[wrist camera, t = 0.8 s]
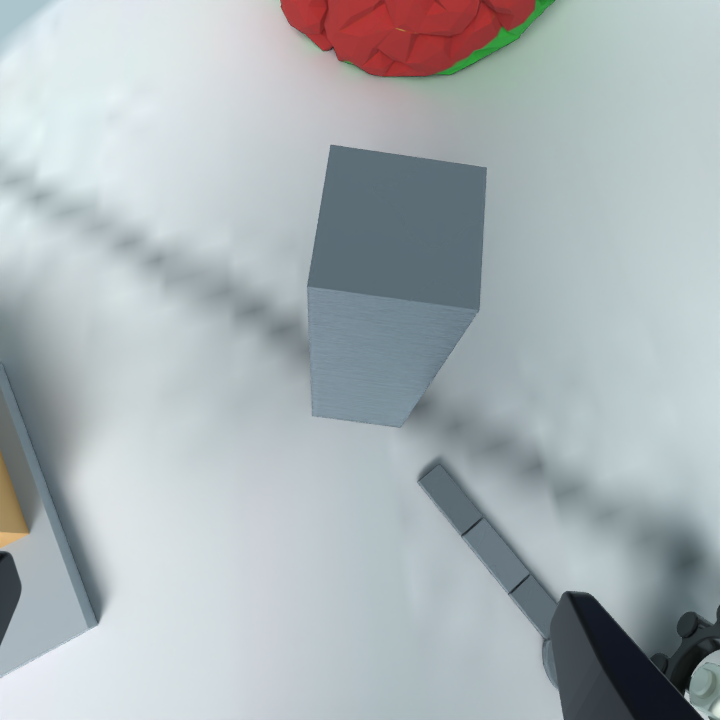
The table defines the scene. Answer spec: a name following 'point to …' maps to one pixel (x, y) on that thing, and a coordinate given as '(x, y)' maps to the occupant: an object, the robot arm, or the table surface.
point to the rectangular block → (390, 280)
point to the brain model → (412, 31)
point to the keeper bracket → (34, 550)
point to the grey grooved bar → (494, 557)
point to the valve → (695, 663)
